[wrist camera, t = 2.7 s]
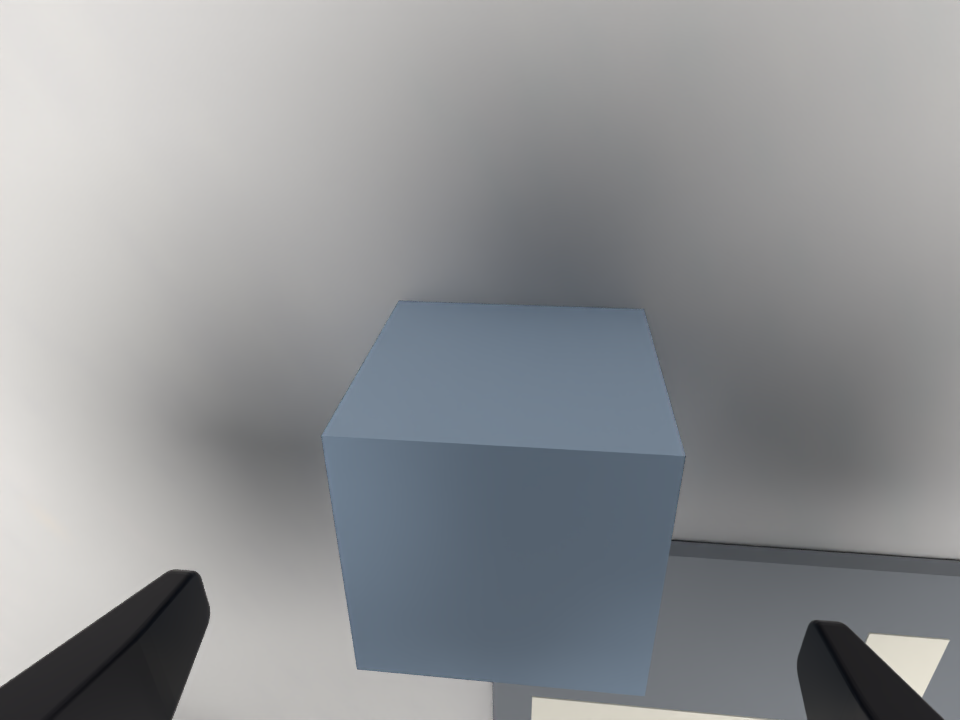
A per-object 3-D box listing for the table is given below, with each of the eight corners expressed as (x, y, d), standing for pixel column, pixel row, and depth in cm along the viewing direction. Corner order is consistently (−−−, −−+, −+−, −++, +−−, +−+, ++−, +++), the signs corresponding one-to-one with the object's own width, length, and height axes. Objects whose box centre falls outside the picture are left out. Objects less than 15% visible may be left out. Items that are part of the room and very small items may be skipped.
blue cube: (413, 488, 16) (357, 668, 11) (399, 299, 13) (321, 435, 9) (620, 501, 15) (644, 696, 11) (643, 307, 13) (685, 455, 9)
